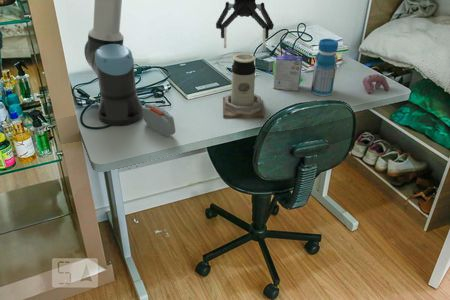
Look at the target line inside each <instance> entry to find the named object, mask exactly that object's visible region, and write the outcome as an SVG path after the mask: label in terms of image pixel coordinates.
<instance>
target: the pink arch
mask: <svg viewBox="0 0 450 300" xmlns="http://www.w3.org/2000/svg"><path fill="white" fill-rule="evenodd" d="M373 83H374V84H373ZM362 85H363V86H364V90H365V92H366V93H367V94H368V93H370V94H371V93H372V90H374V89H375V90H376V89H377V90H379V89H381V87H383V89H385V91H386V90H387V91H389V90H390V85H389V83H388V80H387V78H386V77H385V76H384V75H383V74H377V73H375V74H370V75H367V76H366V77H364V78H363V80H362Z"/></svg>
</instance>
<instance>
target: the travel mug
mask: <svg viewBox="0 0 450 300" xmlns="http://www.w3.org/2000/svg"><path fill="white" fill-rule="evenodd" d="M232 59H233V63H232V65H231V88H230V89H231V91H230V94H231V104H233V105H235V106H252V105H253V104H254V94H255V85H256V84H255V80H256V65H255V61H256V57H255V55H253V54H250V53H237V54H234V55H233V56H232Z"/></svg>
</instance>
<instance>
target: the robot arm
mask: <svg viewBox="0 0 450 300" xmlns="http://www.w3.org/2000/svg"><path fill="white" fill-rule="evenodd" d="M122 2H123V0H94V3H93V5H94V8H93V9H94V10H93V24H92V25H93V27H92V29H90V30H89V31H88V33H87V41H86V43H85V45H84V57H85V60H86V62H87V64H88V65H89V66H90V67H91V69H92V71H94V73H95V75H96V76H97V79H98V84H99V92H100V99H99V100H100V101H99V105H98V109H97V114H98V120H99V121H100V122H101V123H102V124H104V125H108V126H112V127H125V126H129V125H133V124H135V123H137V122H139V121H140V120H142V118H143V108H144V107H143V104H142V102H141V100H140V98H139V96H138V94H137V85H136V77H135V67H134V66H135V65H134V64H135V60H134V56H133V53H132V51H131V49H130V48H128V46H125V45H124V35H123V34H122V33H121V32H120V30H121V29H120V28H121V18H122V17H121V16H122V4H123V3H122ZM224 5H225V7H224V9H223V10H222V12H221V14H220V16H219V18H218V19H217V21H216V23H215V28H216V29H217V30H220V38H221V39H223V48H224V49H227V27H229V25H230V24H231V23H232V22H233V21H234V20H235V19H237V18H238V17H241V18H242V17H243V18H244V17H246V18H247V17H248V18H249V17H251V19H253V20H255V22H256V23H257V24H258V25H259V26H260V27H261V28H262V49H264V50H265V49H266V46H267V45H266V40H268V39H269V34H270V33H269V31H270V30H271V31H272V30H273V29H274V22H273V20H272V19H271V17H270V15H269V12H268V11H267V10H266V8H265V2H263V1H262V2H261V3H259V4H257V3H256V0H234V1H233V3H230V2H229V1H226V2H225V4H224ZM232 9H233V12H232V13H231V14H230V15H229V16H228V18H226V17H227V15H228V13H229V11H231V10H232ZM256 9H258V11H259V12H260V13H261V15H262V17H263V18H262V17H261V16H260V15H259V13H257V10H256ZM225 18H226V19H225Z"/></svg>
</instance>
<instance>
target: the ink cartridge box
mask: <svg viewBox="0 0 450 300" xmlns="http://www.w3.org/2000/svg"><path fill="white" fill-rule="evenodd" d="M284 51H285V52H284V55H283V54H281V55H280V54H277V56H276V57H275V58H276V59H275V60H276V63H275V75H273V78H274V79H273V89H275V90H283V91H284V90H286V91H296V92H298V91H299V88H300V84H301V78H302V77H301V75H302V68H303V66H302V65H303V56H299V55H295V54H296V53H295V51H296V50H288V49H285V50H284ZM288 53H291V54H288Z"/></svg>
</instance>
